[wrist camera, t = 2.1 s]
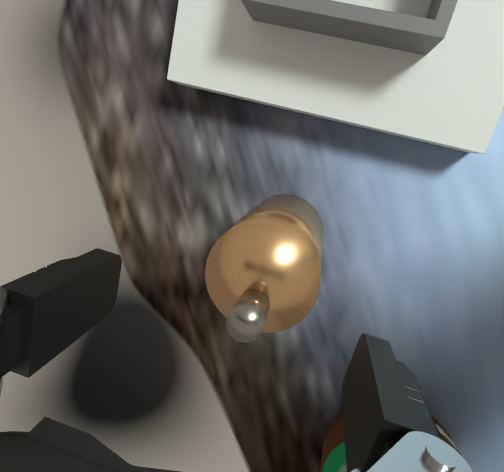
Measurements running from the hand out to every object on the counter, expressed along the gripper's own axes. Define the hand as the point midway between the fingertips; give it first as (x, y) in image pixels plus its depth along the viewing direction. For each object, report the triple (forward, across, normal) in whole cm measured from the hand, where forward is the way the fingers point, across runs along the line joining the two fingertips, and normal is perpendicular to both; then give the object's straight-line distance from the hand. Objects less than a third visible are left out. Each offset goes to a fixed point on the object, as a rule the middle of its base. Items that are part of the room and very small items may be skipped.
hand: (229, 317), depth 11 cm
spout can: (+13, 0, 0) cm, 13 cm away
